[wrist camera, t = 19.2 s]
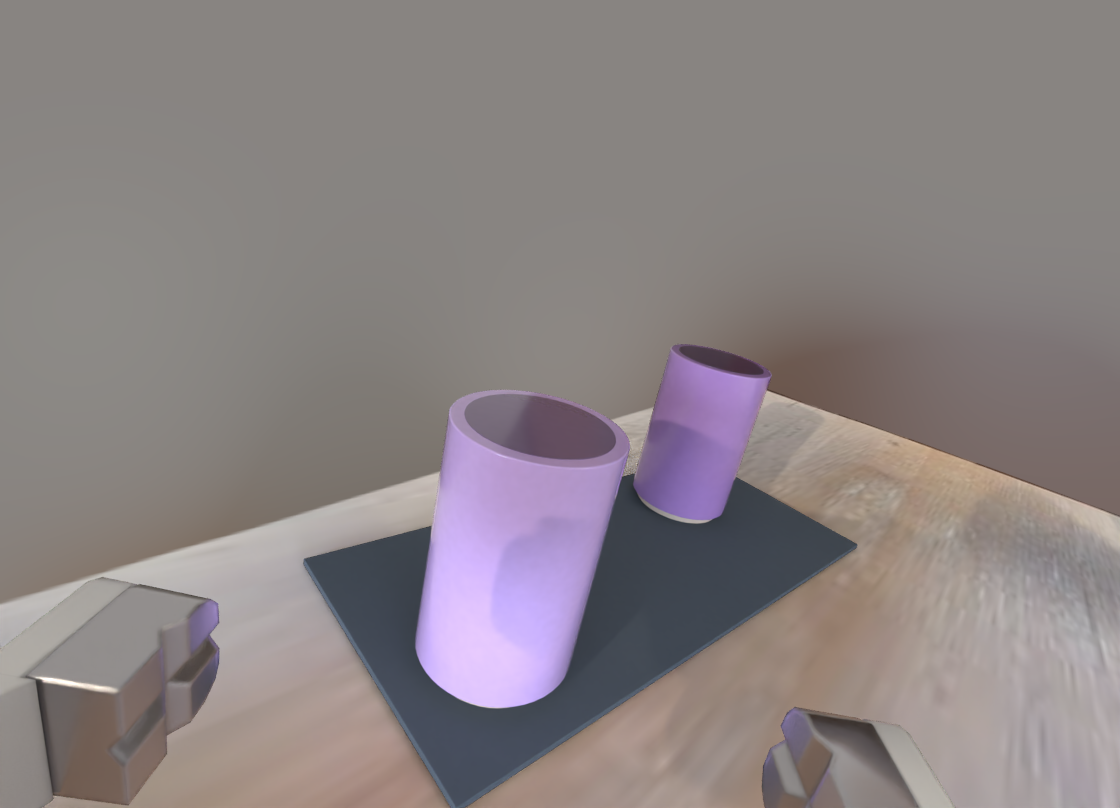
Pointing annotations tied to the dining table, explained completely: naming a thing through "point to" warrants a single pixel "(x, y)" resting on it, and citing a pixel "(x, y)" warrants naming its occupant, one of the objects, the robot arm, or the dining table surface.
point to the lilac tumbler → (515, 543)
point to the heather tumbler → (699, 432)
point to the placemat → (606, 631)
